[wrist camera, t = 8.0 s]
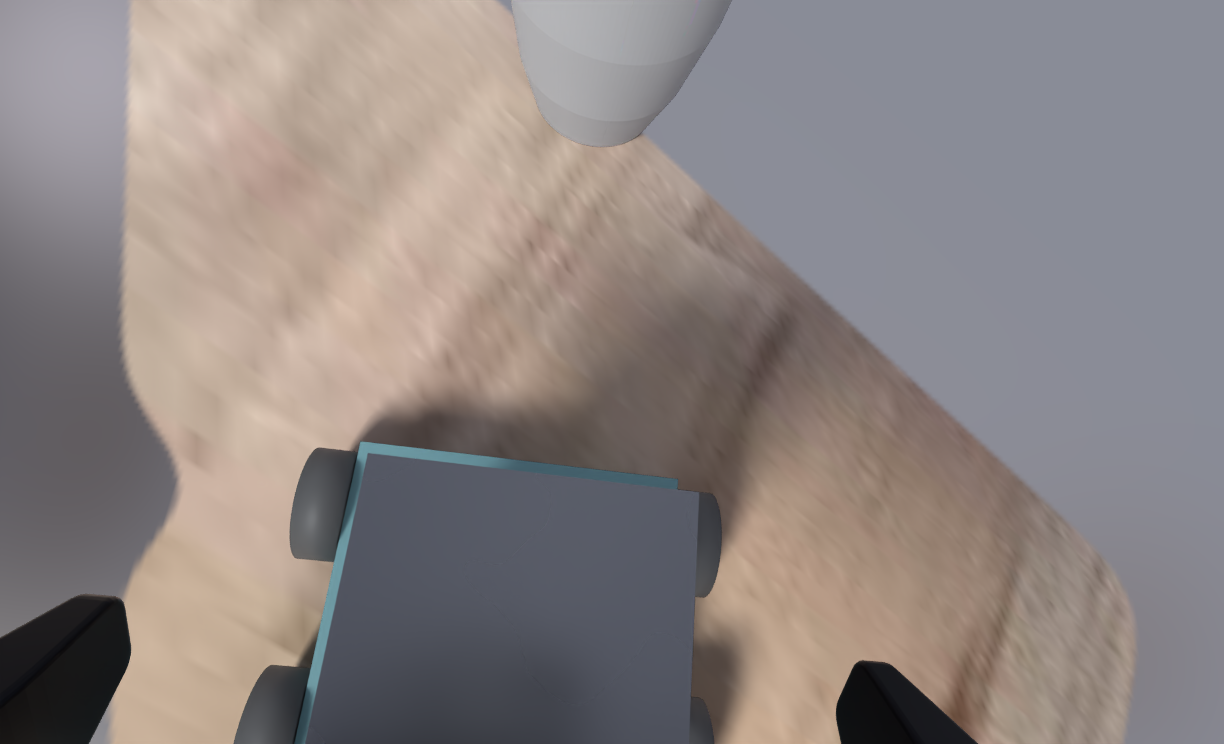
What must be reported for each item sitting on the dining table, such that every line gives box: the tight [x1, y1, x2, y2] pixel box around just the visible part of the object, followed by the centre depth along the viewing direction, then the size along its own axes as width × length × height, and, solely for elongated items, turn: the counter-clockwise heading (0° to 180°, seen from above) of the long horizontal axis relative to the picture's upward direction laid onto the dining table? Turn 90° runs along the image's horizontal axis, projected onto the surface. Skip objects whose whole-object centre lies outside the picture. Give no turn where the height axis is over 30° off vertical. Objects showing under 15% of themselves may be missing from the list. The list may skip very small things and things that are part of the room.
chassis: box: [234, 442, 722, 744], centre depth 20 cm, size 10×12×3 cm
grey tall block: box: [305, 453, 699, 744], centre depth 14 cm, size 4×4×13 cm
